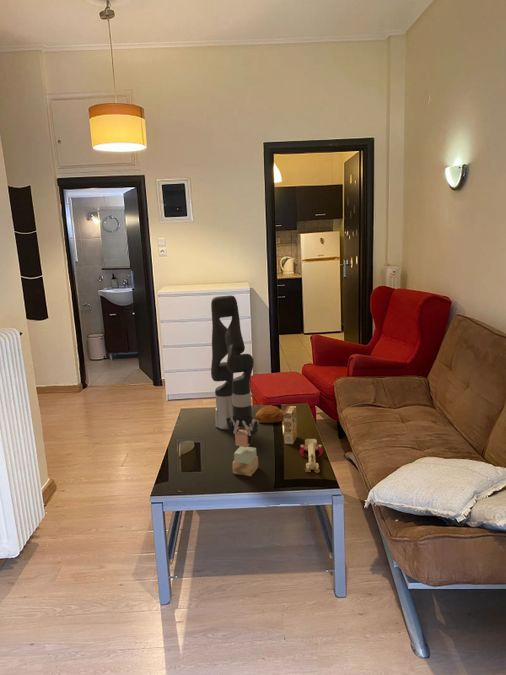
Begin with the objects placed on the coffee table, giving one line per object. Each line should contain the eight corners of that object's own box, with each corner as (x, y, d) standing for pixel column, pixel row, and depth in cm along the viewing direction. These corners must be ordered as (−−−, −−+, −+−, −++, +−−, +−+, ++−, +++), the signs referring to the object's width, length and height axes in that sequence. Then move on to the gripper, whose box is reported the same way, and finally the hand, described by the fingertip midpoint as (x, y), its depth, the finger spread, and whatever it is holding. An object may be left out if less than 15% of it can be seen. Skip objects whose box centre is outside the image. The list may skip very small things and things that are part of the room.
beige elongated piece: (325, 476, 198) (321, 444, 222) (325, 457, 196) (321, 427, 219) (300, 476, 199) (299, 444, 223) (299, 457, 196) (299, 427, 220)
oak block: (232, 473, 200) (232, 462, 199) (240, 464, 208) (240, 453, 206) (251, 476, 197) (250, 465, 196) (258, 467, 205) (257, 456, 204)
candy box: (293, 444, 224) (292, 413, 221) (283, 443, 225) (283, 412, 222) (297, 436, 232) (296, 406, 229) (288, 435, 234) (287, 405, 230)
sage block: (234, 462, 199) (234, 453, 198) (240, 454, 206) (240, 445, 205) (250, 464, 197) (250, 455, 196) (256, 456, 203) (256, 447, 202)
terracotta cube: (235, 445, 199) (234, 434, 198) (240, 440, 203) (240, 429, 202) (246, 447, 197) (246, 435, 196) (251, 442, 201) (251, 430, 200)
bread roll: (284, 428, 249) (286, 413, 247) (254, 424, 249) (255, 410, 247) (283, 416, 263) (285, 402, 261) (254, 413, 263) (256, 399, 261)
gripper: (221, 404, 196) (223, 443, 199) (255, 408, 190) (256, 448, 194) (229, 398, 202) (231, 436, 206) (262, 401, 197) (263, 441, 201)
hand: (243, 442), depth 200 cm, fingers closed on terracotta cube, 5 cm apart
